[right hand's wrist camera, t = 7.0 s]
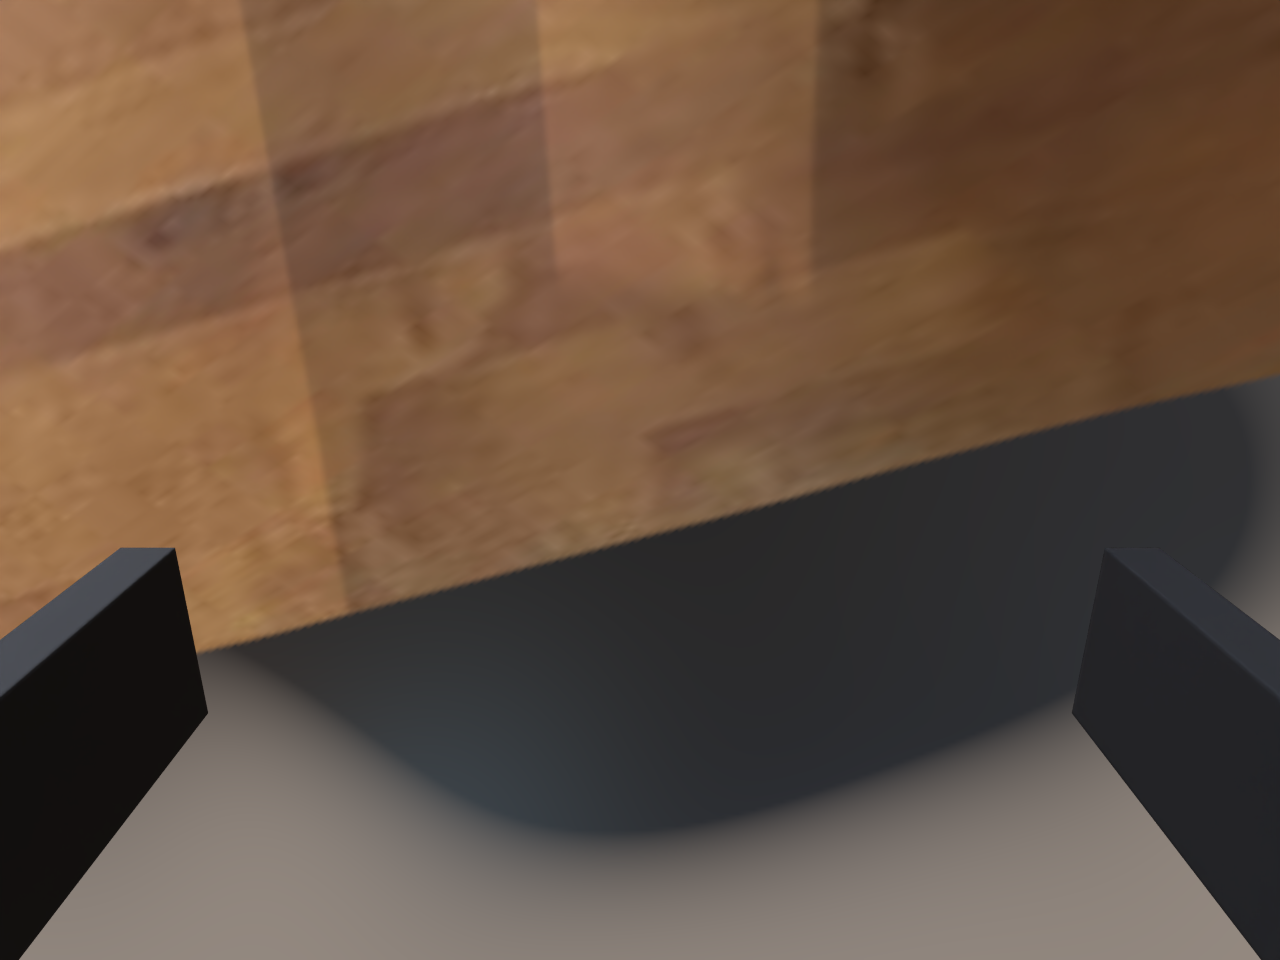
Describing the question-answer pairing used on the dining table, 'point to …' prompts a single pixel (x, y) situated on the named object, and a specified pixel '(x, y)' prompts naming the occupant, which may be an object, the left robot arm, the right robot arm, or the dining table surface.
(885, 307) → the dining table surface
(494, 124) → the dining table surface
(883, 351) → the dining table surface
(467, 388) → the dining table surface
